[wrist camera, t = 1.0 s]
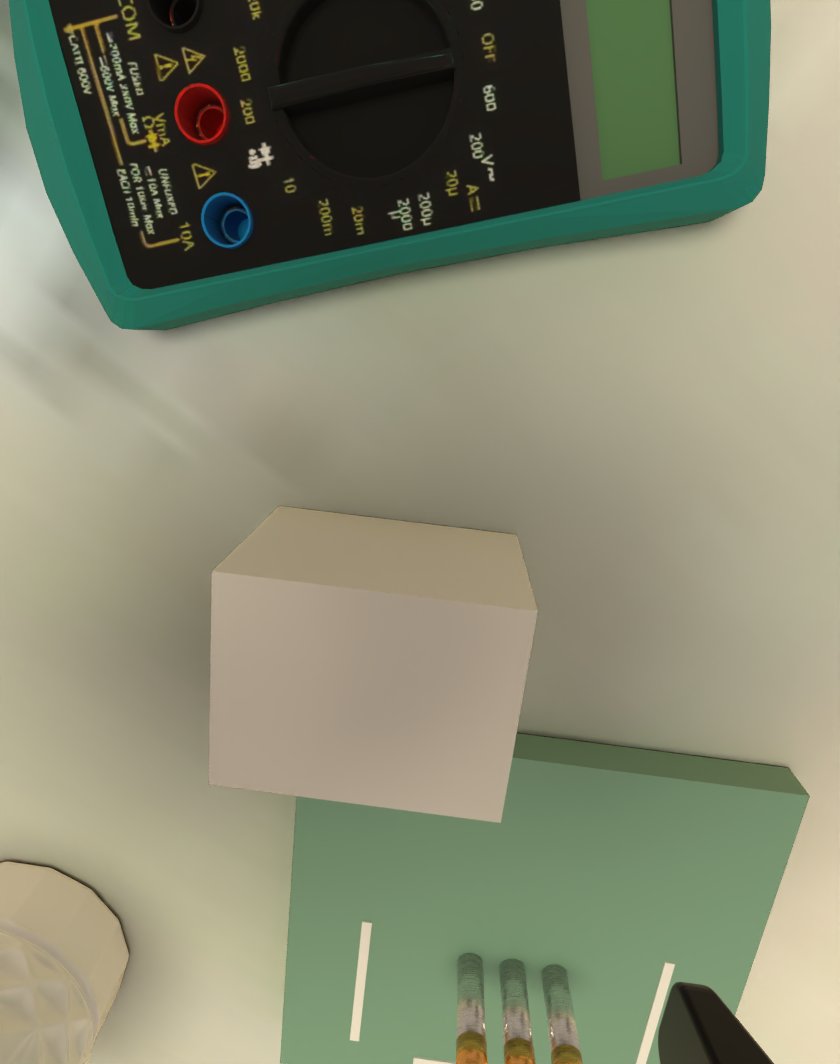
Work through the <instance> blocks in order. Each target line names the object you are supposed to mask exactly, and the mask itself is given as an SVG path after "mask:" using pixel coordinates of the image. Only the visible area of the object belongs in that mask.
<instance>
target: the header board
mask: <svg viewBox="0 0 840 1064" xmlns="http://www.w3.org/2000/svg"><path fill="white" fill-rule="evenodd" d="M809 797H810V796H809V794H808V793H807V792H806V790H805V789H804V788H803V786H802V785H801V784H800V782H799V781H798V780H797V778H796V777H795V776H794V774H793V773H792V772H791V770H790V769H789V768H785V767H777V766H770V765H762V764H754V763H746V762H738V761H730V760H723V759H715V758H707V757H699V756H691V755H684V754H676V753H668V752H660V751H652V750H644V749H637V748H629V747H621V746H613V745H605V744H598V743H590V742H582V741H574V740H566V739H558V738H551V737H543V736H535V735H527V734H519V733H517V734H516V739H515V745H514V751H513V756H512V762H511V768H510V773H509V779H508V785H507V791H506V796H505V802H504V808H503V813H502V819H501V823H497V822H490V821H482V820H474V819H467V818H459V817H452V816H444V815H436V814H429V813H421V812H413V811H406V810H398V809H391V808H383V807H375V806H368V805H360V804H352V803H345V802H337V801H330V800H322V799H314V798H307V797H299V796H297V799H296V815H295V831H294V847H293V863H292V879H291V895H290V911H289V928H288V944H287V960H286V976H285V992H284V1008H283V1024H282V1040H281V1056H280V1063H281V1064H456V1040H457V960H458V958H459V957H460V956H461V955H462V954H465V953H475V954H477V955H479V956H480V957H481V958H482V960H483V970H484V998H485V1026H486V1041H487V1061H488V1064H504V1053H503V1047H504V1040H503V1024H502V1007H501V991H500V974H499V966H500V964H501V963H502V962H503V961H504V960H506V959H518V960H520V961H521V962H522V963H523V964H524V965H525V971H526V981H527V990H528V1000H529V1010H530V1020H531V1030H532V1040H533V1047H534V1052H535V1062H536V1064H552V1063H551V1049H550V1041H549V1033H548V1025H547V1017H546V1009H545V1001H544V993H543V985H542V977H541V972H542V970H543V968H544V967H546V966H548V965H551V964H557V965H560V966H562V967H564V968H565V969H566V971H567V974H568V980H569V986H570V992H571V998H572V1004H573V1010H574V1016H575V1022H576V1028H577V1034H578V1040H579V1046H580V1052H581V1054H582V1060H583V1064H660V1059H659V1051H658V1032H659V1027H660V1024H661V1020H662V1017H663V1014H664V1010H665V1007H666V1004H667V1000H668V997H669V994H670V990H671V988H672V986H673V985H674V984H675V983H676V982H687V983H694V984H701V985H705V986H708V987H710V988H711V989H712V990H714V991H715V992H716V993H717V995H718V996H719V997H720V998H721V999H722V1001H723V1002H724V1003H725V1004H726V1006H727V1007H728V1008H729V1009H730V1010H731V1012H732V1013H733V1014H734V1015H735V1014H736V1011H737V1008H738V1005H739V1002H740V999H741V996H742V993H743V990H744V987H745V985H746V982H747V979H748V976H749V973H750V970H751V967H752V964H753V961H754V958H755V955H756V952H757V949H758V946H759V943H760V941H761V938H762V935H763V932H764V929H765V926H766V923H767V920H768V917H769V914H770V911H771V908H772V905H773V902H774V899H775V896H776V894H777V891H778V888H779V885H780V882H781V879H782V876H783V873H784V870H785V867H786V864H787V861H788V858H789V855H790V852H791V850H792V847H793V844H794V841H795V838H796V835H797V832H798V829H799V826H800V823H801V820H802V817H803V814H804V811H805V808H806V806H807V803H808V800H809Z"/></svg>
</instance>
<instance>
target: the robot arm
mask: <svg viewBox="0 0 840 1064" xmlns="http://www.w3.org/2000/svg"><path fill="white" fill-rule="evenodd" d="M658 1051H659V1059H660V1064H774V1063H773V1062H772V1060H771V1059H770V1058H769V1057H768V1056H767V1054H766V1053H765V1052H764V1051H763V1049H762V1048H761V1047H760V1046H759V1045H758V1043H757V1042H756V1041H755V1040H754V1038H753V1037H752V1036H751V1035H750V1034H749V1032H748V1031H747V1030H746V1029H745V1028H744V1026H743V1025H742V1024H741V1023H740V1021H739V1020H738V1019H737V1018H736V1017H735V1015H734V1014H733V1013H732V1012H731V1010H730V1009H729V1008H728V1007H727V1006H726V1004H725V1003H724V1002H723V1001H722V999H721V998H720V997H719V996H718V995H717V993H716V992H715V991H714V990H712V989H711V988H710V987H708V986H705V985H701V984H694V983H687V982H676V983H675V984H674V985H673V986H672V988H671V990H670V994H669V997H668V1000H667V1004H666V1007H665V1010H664V1014H663V1017H662V1020H661V1024H660V1027H659V1032H658Z"/></svg>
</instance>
